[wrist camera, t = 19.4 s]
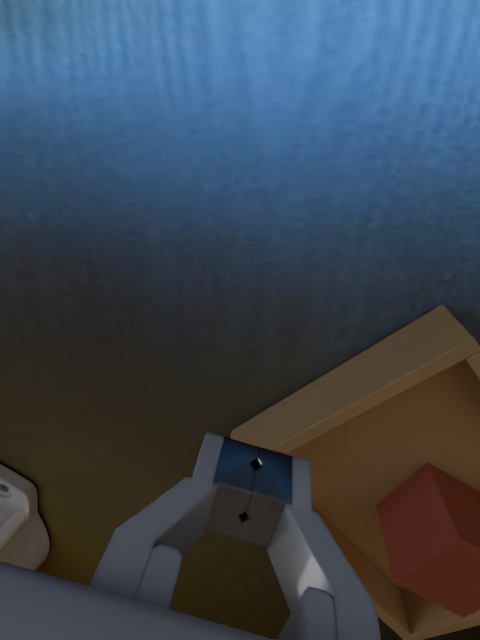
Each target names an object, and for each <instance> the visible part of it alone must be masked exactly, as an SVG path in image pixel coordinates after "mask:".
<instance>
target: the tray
mask: <svg viewBox="0 0 480 640" xmlns="http://www.w3.org/2000/svg"><path fill="white" fill-rule="evenodd" d="M231 439H234V440H237V441H241V442H244V443H248V444H251V445H254V446H259V447H263V448H266V449H270V450H274V451H278V452H282V453H285V454H289V455H291V456H292V455H293V456H297V457H301V458H305V459H309V460H310V463H311V483H312V507H313V512H316V513H318V514H319V515H320V517H321V519H322V520H323V522H324V523H325V525H326V527H327V528H328V530H329V531H330V533H331V534H332V536H333V538H334V539H335V541H336V542H337V544H338V546H339V547H340V549H341V550H342V552H343V553H344V555H345V557H346V558H347V560H348V561H349V563H350V565H351V566H352V568H353V569H354V571H355V572H356V574H357V576H358V577H359V579H360V580H361V582H362V584H363V585H364V587H365V588H366V590H367V591H368V593H369V595H370V596H371V598H372V599H373V601H374V603H375V606H376V612H377V616H378V617H379V618H380V619H381V620H383V621H384V622H385V623H386V624H387V625H388V626H389V627H390V628H391V629H392V630H394V631H395V632H396V633H397V634H398V635H399V636H400V637H401V638H402V639H403V640H422V639H426V638H430V637H434V636H438V635H442V634H446V633H450V632H454V631H458V630H462V629H466V628H470V627H474V626H478V625H480V609H479V610H478V611H476V612H474V613H472V614H470V615H469V616H467V617H465V618H463V617H461V616H459V615H457V614H455V613H453V612H451V611H449V610H447V609H445V608H443V607H441V606H439V605H437V604H435V603H433V602H431V601H429V600H427V599H425V598H423V597H421V596H419V595H417V594H415V593H413V592H411V591H409V590H407V589H405V588H403V587H401V586H399V585H397V584H395V583H394V581H393V577H392V573H391V568H390V564H389V560H388V556H387V551H386V547H385V543H384V538H383V534H382V530H381V526H380V521H379V517H378V513H377V508H376V505H377V504H378V503H379V502H381V501H382V500H383V499H384V498H385V497H387V496H388V495H389V494H390V493H391V492H393V491H394V490H395V489H396V488H397V487H398V486H400V485H401V484H402V483H403V482H404V481H406V480H407V479H408V478H409V477H410V476H412V475H413V474H414V473H415V472H416V471H418V470H419V469H420V468H421V467H422V466H424V465H425V464H426V463H429V464H431V465H433V466H435V467H436V468H438V469H440V470H442V471H444V472H445V473H447V474H449V475H451V476H453V477H455V478H456V479H458V480H460V481H462V482H464V483H465V484H467V485H469V486H471V487H473V488H474V489H476V490H478V491H480V346H479V344H478V343H477V341H476V340H475V339H474V337H473V336H472V335H471V334H470V333H469V332H468V331H467V330H466V329H465V328H464V327H463V326H462V325H461V323H460V322H459V321H458V320H457V319H456V318H455V317H454V316H453V315H452V314H451V313H450V312H449V311H448V309H447V308H446V307H445V306H444V305H443V304H442V305H440V306H438V307H437V308H435V309H433V310H432V311H430V312H428V313H427V314H425V315H423V316H422V317H420V318H418V319H417V320H415V321H413V322H412V323H410V324H408V325H407V326H405V327H403V328H402V329H400V330H398V331H397V332H395V333H393V334H392V335H390V336H388V337H387V338H385V339H383V340H382V341H380V342H378V343H377V344H375V345H373V346H372V347H370V348H368V349H367V350H365V351H363V352H362V353H360V354H358V355H357V356H355V357H353V358H352V359H350V360H348V361H347V362H345V363H343V364H342V365H340V366H338V367H337V368H335V369H333V370H332V371H330V372H328V373H327V374H325V375H323V376H322V377H320V378H318V379H317V380H315V381H313V382H312V383H310V384H308V385H307V386H305V387H303V388H302V389H300V390H298V391H297V392H295V393H293V394H292V395H290V396H288V397H287V398H285V399H283V400H282V401H280V402H278V403H277V404H275V405H273V406H272V407H270V408H268V409H267V410H265V411H263V412H262V413H260V414H258V415H257V416H255V417H253V418H252V419H250V420H248V421H247V422H245V423H243V424H242V425H240V426H238V427H237V428H235V429H233V430H232V433H231Z"/></svg>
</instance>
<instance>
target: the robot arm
mask: <svg viewBox="0 0 480 640" xmlns="http://www.w3.org/2000/svg"><path fill="white" fill-rule="evenodd" d="M37 507H38V494H37V490H36V488H35V486H34V485H33V484H32V483H31V482H30V481H28V480H27V479H25V478H24V477H22V476H20V475H18V474H17V473H15V472H13V471H12V470H10V469H8V468H6V467H5V466H3V465H1V464H0V640H273V639H270V638H266V637H263V636H259V635H256V634H252V633H249V632H245V631H242V630H238V629H235V628H231V627H228V626H224V625H221V624H217V623H214V622H210V621H207V620H203V619H200V618H196V617H193V616H189V615H186V614H182V613H179V612H176V611H172V610H169V609H170V605H171V601H172V597H173V593H174V589H175V585H176V581H177V577H178V573H179V569H180V565H181V561H182V557H183V556H184V555H185V554H186V553H187V552H188V551H189V550H190V549H191V548H192V546H193V545H194V544H195V543H196V542H197V541H198V540H199V539H200V538H201V537H202V536H203V535H204V534H205V532H206V531H208V532H212V533H216V534H220V535H224V536H228V537H232V538H237V539H239V540H242V541H245V542H249V543H252V544H255V545H258V546H261V547H265V548H267V552H268V554H269V557H270V560H271V562H272V565H273V567H274V570H275V573H276V575H277V578H278V580H279V583H280V586H281V588H282V591H283V593H284V596H285V599H286V601H287V604H288V606H289V609H290V612H291V615H290V617H289V619H288V620H287V622H286V624H285V626H284V628H283V629H282V631H281V633H280V635H279V637H278V638H277V640H381V637H380V630H379V624H378V618H377V612H376V606H375V603H374V601H373V599H372V598H371V596H370V595H369V593H368V591H367V590H366V588H365V587H364V585H363V584H362V582H361V580H360V579H359V577H358V576H357V574H356V572H355V571H354V569H353V568H352V566H351V565H350V563H349V561H348V560H347V558H346V557H345V555H344V553H343V552H342V550H341V549H340V547H339V546H338V544H337V542H336V541H335V539H334V538H333V536H332V534H331V533H330V531H329V530H328V528H327V527H326V525H325V523H324V522H323V520H322V519H321V517H320V515H319V514H318V513H316V512H313V507H312V483H311V463H310V460H309V459H305V458H301V457H297V456H293V455H292V456H291V455H289V454H285V453H282V452H278V451H274V450H270V449H266V448H263V447H259V446H254V445H251V444H248V443H244V442H241V441H237V440H234V439H231V438H227V437H223V436H219V435H216V434H213V433H209V432H207V433H206V435H205V438H204V441H203V444H202V448H201V451H200V454H199V457H198V460H197V463H196V467H195V470H194V473H193V476H192V478H189V477H186V478H184V479H183V480H182V481H180V482H179V483H178V484H176V485H175V486H174V487H172V488H171V489H170V490H168V491H167V492H166V493H164V494H163V495H162V496H160V497H159V498H157V499H156V500H155V501H153V502H152V503H151V504H149V505H148V506H147V507H145V508H144V509H143V510H141V511H140V512H139V513H137V514H136V515H135V516H133V517H132V518H131V519H129V520H128V521H126V522H125V523H124V524H122V525H121V526H120V527H118V528H117V529H116V530H115V532H114V534H113V536H112V538H111V540H110V543H109V545H108V547H107V549H106V551H105V553H104V555H103V557H102V559H101V561H100V564H99V566H98V568H97V570H96V572H95V574H94V576H93V578H92V580H91V582H90V585H89V586H85V585H82V584H78V583H75V582H71V581H68V580H64V579H61V578H57V577H54V576H50V575H47V574H43V573H40V572H36V571H35V570H36V569H37V568H38V567H39V566H40V565H41V564H42V563H43V562H44V560H45V559H46V557H47V555H48V552H49V547H50V543H49V536H48V533H47V530H46V528H45V525H44V524H43V522H42V520H41V518H40V515H39V513H38V510H37Z"/></svg>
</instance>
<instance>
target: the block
mask: <svg viewBox="0 0 480 640" xmlns="http://www.w3.org/2000/svg"><path fill="white" fill-rule="evenodd" d="M376 508H377V513H378V517H379V521H380V526H381V530H382V534H383V538H384V543H385V547H386V551H387V556H388V560H389V564H390V568H391V573H392V577H393V581H394V583H395V584H397V585H399V586H401V587H403V588H405V589H407V590H409V591H411V592H413V593H415V594H417V595H419V596H421V597H423V598H425V599H427V600H429V601H431V602H433V603H435V604H437V605H439V606H441V607H443V608H445V609H447V610H449V611H451V612H453V613H455V614H457V615H459V616H461V617H463V618H465V617H467V616H469V615H470V614H472V613H474V612H476V611H478V610H479V609H480V491H478V490H476V489H474V488H473V487H471V486H469V485H467V484H465V483H464V482H462V481H460V480H458V479H456V478H455V477H453V476H451V475H449V474H447V473H445V472H444V471H442V470H440V469H438V468H436V467H435V466H433V465H431V464H429V463H426V464H425V465H424V466H422V467H421V468H420V469H419V470H418V471H416V472H415V473H414V474H413V475H412V476H410V477H409V478H408V479H407V480H406V481H404V482H403V483H402V484H401V485H400V486H398V487H397V488H396V489H395V490H394V491H393V492H391V493H390V494H389V495H388V496H387V497H385V498H384V499H383V500H382V501H381V502H379V503H378V504H377V505H376Z"/></svg>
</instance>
